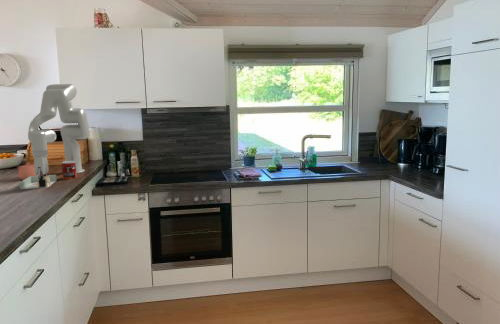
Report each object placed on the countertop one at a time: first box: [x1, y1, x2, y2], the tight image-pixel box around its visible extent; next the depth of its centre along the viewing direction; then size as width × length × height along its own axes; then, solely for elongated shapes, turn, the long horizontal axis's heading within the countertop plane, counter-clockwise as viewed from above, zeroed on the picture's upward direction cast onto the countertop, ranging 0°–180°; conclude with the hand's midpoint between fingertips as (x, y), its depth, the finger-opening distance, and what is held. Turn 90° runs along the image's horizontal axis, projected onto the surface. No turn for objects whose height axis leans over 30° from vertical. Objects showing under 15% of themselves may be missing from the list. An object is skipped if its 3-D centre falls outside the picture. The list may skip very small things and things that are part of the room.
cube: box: [37, 176, 51, 188], centre depth 230 cm, size 5×5×5 cm
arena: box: [18, 174, 57, 190], centre depth 235 cm, size 18×14×4 cm
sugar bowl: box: [17, 162, 38, 181], centre depth 255 cm, size 12×14×10 cm
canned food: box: [61, 160, 78, 180], centre depth 251 cm, size 8×8×11 cm
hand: (44, 185), depth 231 cm, fingers closed on cube, 5 cm apart
